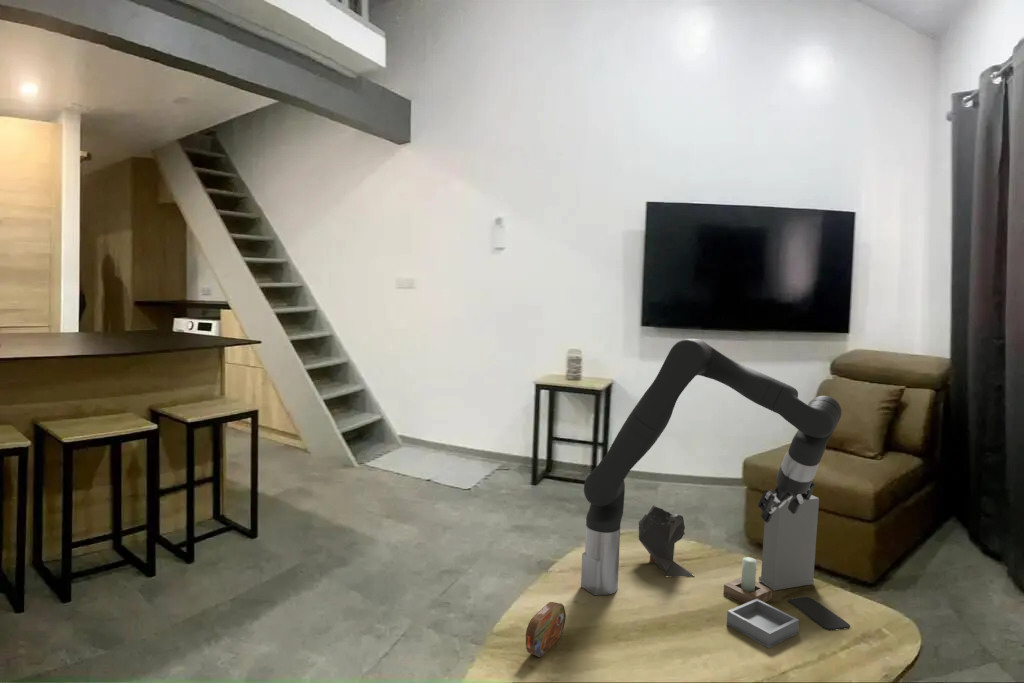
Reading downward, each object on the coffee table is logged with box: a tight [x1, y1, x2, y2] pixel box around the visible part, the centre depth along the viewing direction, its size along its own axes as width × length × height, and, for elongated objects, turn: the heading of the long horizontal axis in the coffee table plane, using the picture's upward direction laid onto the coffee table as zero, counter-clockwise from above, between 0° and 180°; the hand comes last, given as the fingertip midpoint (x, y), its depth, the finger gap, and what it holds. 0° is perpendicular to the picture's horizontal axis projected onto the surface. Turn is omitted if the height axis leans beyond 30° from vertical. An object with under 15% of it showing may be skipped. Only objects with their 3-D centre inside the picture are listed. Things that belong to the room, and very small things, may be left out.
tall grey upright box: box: [758, 493, 820, 592], centre depth 172 cm, size 14×6×25 cm, turn 108°
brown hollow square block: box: [723, 576, 773, 604], centre depth 165 cm, size 9×9×2 cm
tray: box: [726, 599, 800, 649], centre depth 149 cm, size 12×12×4 cm
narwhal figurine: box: [638, 504, 694, 576], centre depth 182 cm, size 14×15×18 cm
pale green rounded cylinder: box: [740, 556, 757, 593], centre depth 165 cm, size 4×4×10 cm
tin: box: [525, 601, 567, 658], centre depth 140 cm, size 15×3×8 cm, turn 148°
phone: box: [787, 596, 851, 631], centre depth 157 cm, size 7×1×15 cm
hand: (778, 515), depth 155 cm, fingers open, 8 cm apart
